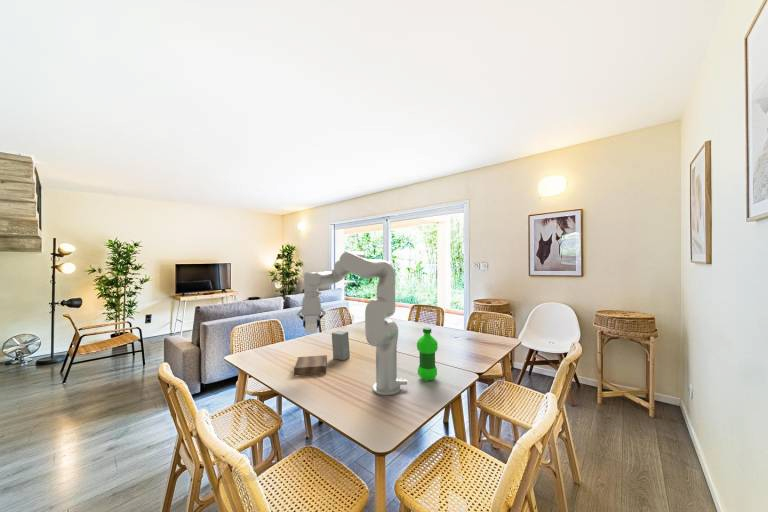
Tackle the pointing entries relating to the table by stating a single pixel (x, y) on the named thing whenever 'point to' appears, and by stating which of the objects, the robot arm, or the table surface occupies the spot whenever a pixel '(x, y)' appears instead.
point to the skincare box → (340, 345)
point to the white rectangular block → (311, 323)
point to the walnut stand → (310, 365)
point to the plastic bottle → (427, 355)
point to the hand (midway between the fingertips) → (311, 327)
